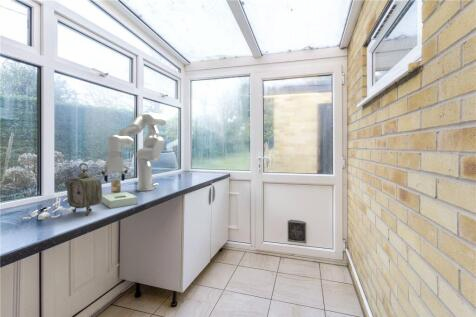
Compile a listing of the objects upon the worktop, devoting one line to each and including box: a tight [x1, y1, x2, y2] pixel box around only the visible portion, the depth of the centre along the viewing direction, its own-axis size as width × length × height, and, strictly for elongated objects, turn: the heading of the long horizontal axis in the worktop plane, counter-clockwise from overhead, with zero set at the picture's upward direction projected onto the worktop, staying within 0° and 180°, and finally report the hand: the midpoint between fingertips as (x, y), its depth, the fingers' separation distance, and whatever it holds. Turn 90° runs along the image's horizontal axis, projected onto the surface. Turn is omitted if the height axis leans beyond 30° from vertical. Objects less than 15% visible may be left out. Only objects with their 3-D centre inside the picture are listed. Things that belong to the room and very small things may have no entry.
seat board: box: [100, 191, 138, 209], centre depth 134 cm, size 14×20×4 cm
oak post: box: [110, 179, 122, 194], centre depth 148 cm, size 4×4×11 cm
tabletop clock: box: [66, 162, 103, 216], centre depth 114 cm, size 14×9×25 cm, turn 64°
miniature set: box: [21, 196, 75, 221], centre depth 118 cm, size 6×35×12 cm
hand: (114, 181), depth 147 cm, fingers open, 9 cm apart
